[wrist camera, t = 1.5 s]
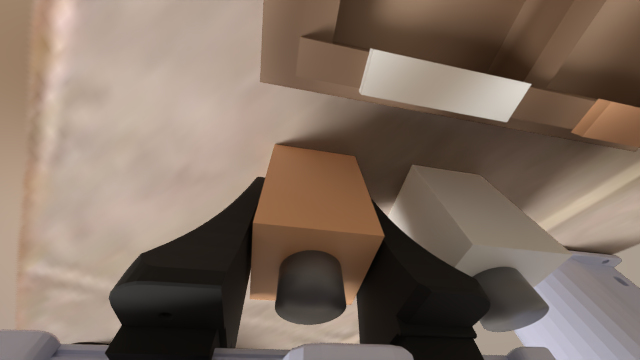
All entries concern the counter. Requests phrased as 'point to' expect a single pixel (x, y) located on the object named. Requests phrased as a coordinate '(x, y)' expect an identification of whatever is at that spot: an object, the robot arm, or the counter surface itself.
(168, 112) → the counter surface
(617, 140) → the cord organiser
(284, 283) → the orange plug
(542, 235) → the grey plug
